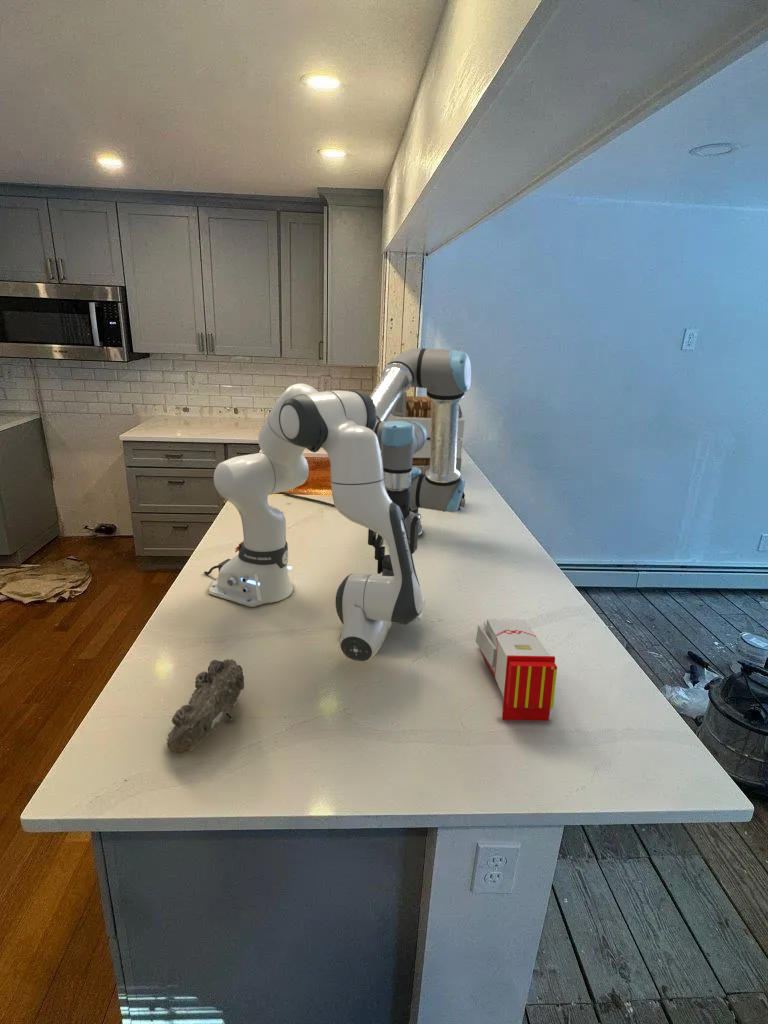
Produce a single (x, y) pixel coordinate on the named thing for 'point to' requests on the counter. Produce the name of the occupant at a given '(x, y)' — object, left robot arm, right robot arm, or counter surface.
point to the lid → (386, 561)
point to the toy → (519, 668)
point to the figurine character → (462, 501)
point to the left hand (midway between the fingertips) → (390, 588)
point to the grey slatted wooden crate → (421, 413)
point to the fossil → (206, 705)
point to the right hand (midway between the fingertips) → (390, 573)
